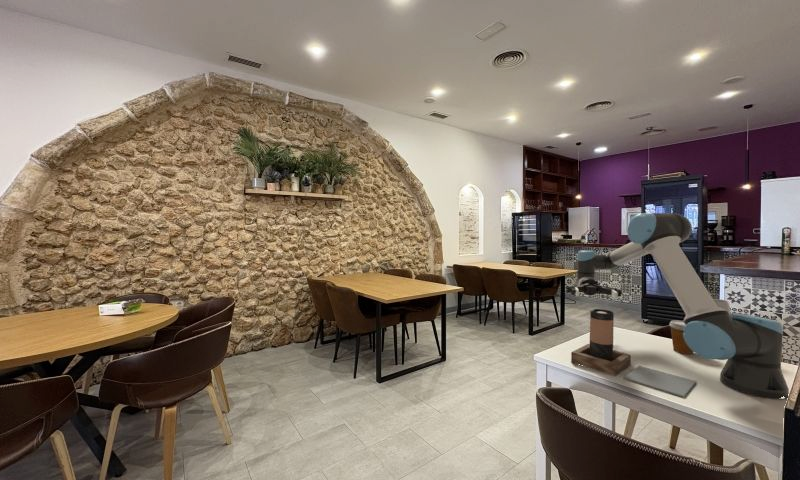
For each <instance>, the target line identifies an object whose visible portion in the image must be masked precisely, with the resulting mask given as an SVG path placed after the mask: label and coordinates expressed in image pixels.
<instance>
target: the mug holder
mask: <svg viewBox="0 0 800 480" xmlns="http://www.w3.org/2000/svg"><path fill="white" fill-rule="evenodd" d="M570 356H571V359H570V360H571V361H570V363H572V362H574V363H573V364H575V363H577V364H576V365H578V364H580V365H579V366H581V365H583V366H582V367H584V366H586V367H585V368H588V367H589V368H588V369H591V368H592V370H595V371H597V372H601V373H604V374H607V375H611V376H614V377H616V376H618V375H620V373H622V372H623V371H625V370H626V369H627V368H629V367H630V366H631V365H632V354H631V353H630V354H629V353H626V352H622V351H618V350H614V349H613V355H612V361H608V360H604V359H601V358H597V357H594V356H590V343H587V344H586V345H585V344H584V345H583V346H581V347H579V348H576V349H574V350H573V351H571V352H570Z"/></svg>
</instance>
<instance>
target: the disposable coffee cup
mask: <svg viewBox="0 0 800 480" xmlns="http://www.w3.org/2000/svg"><path fill="white" fill-rule="evenodd" d="M668 325H669V326H670V334H671V339H672V349H673V352H676V353H679V354H683V355H693V354H694V352H693V351H692V350H691V349H690V348H689V347H688V345H687V344H686V342H685V340H684V337H683V333H684V331H683V330H684V327H685V326H686V325H685V323H684V321H683V320H678V319H677V320H675V319H673V320H670V322H669V324H668Z"/></svg>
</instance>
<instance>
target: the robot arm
mask: <svg viewBox="0 0 800 480" xmlns="http://www.w3.org/2000/svg"><path fill="white" fill-rule="evenodd" d="M691 223H692V222H691V221H690V220H689V219H688V218H687V217H686V216H684V215H683V214H680V213H674V212H665V213H664V212H658V213H657V212H642V213H638V214H636V215H634V216H633V217H632V218H631V219H630V221H629V223H628V226H627V229H626V233H627V237H628V240H630V242H629V243H627V244H626V243H625V244H624V245H622V246H620V247H619V248H616V249H615V250H613V251H611V252H608V253H606V254H598V253H597V254H596V252H595V250H578V253H577V272H576V279H575V283H574V284H572V285H567V286H566V292H567V293H568V294H569V293H571V295H572V296H576V297H578V298H579V296H580V293H583V294H585V295H587V296H594V295H596V294H598V295H602V294H604V295H608V296H611V297H612V298H613V299H614V300H618V297H622V289H618V288H614V287H611V286H608V285H605V286H604V287H603V285H600V284H599V283H598V282H597V281H596V280H595V278H596V277H595V275H596V271H597V270H598V271H600V270H601V271H603V270H604V271H605V270H606V271H609V270H611V271H613V270H614V271H615V270H616V271H617V270H621V269H622V268H623V267H624V265H626V264H627V263H630V262H632V261H634V260H637V259H640V258H642V257H644V256H646V255H648V254H650V255H651V256H652V258H653V260H654V261H655V262H656V264H657V267H658V268H659V270H660V271H661V273H662V275H663V278H664V279H665V280H666V283H667V284H668V286H669V287H670V290H671V291H672V293H673V295H674V297H675V298H676V300H677V301H678V304H679V305H680V307H681V308H682V309H681V310H682V311H683V312H684V314H685V316H684V319H683V320H682V321H684V323H685V325H686V326H685V327H684V330H683V331H684V333H683V337H684V340H685V342H686V344H687V345H688V347H689V348H690V349H691V350H692V351H693V353H695V354H696V355H698V356H700V357H702V358H704V359H708V360H717V361H718V360H719V361H726V362H725V364H724V366H723V367H722V369H721V371H720V374H719V381H720V382H721V383H722V384H723V385H725V386H726V387H728V388H730V389H733V390H735V391H738V392H741V393H744V394H746V395H747V394H748V395H750V396H755V397H759V398H763V399H764V398H765V399H770V400H771V399H772V400H773V399H774V400H780V399H779V398H781V397H783V396H784V397H785V399H787V397H788V398H789V396H788V394H789V393H790V391H789V386H788V385H787V381H786V379H785V377H784V374H783V372H782V350H783V336H784V333H783V326H782V323H781V322H779V321H777V320H774V319H769V318H765V317H761V316H756V315H750V314H743V313H735V312H732V313H731V314H730V315H729V313H728V312H727V310H725V309H722V308H719V307H717V305H716V303H715V302H714V300H713V299H714V298H713V297H712V296H711V294H710V292H709V291H708V289H707V287H706V286H705V284H704V282H703V281H702V279H701V278H700V277H699V274H697V272H696V270H695V268H694V266H693V265H692V264H691V262H690V261H689V259H688V257H687V256H686V254H685V253H684V251H683V250H682V248H681V246H680V243H683V242H684V241H686V240H687V239H688V238H689V237H690V236H691V234H692V232H693V231H692V230H693V226H692V224H691ZM789 395H790V394H789Z"/></svg>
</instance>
